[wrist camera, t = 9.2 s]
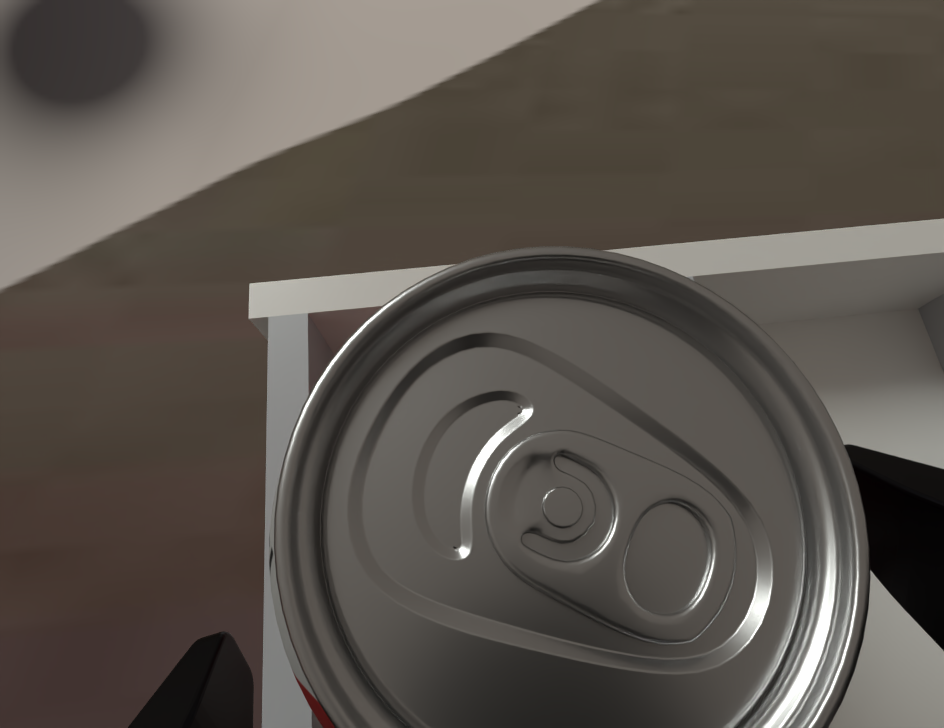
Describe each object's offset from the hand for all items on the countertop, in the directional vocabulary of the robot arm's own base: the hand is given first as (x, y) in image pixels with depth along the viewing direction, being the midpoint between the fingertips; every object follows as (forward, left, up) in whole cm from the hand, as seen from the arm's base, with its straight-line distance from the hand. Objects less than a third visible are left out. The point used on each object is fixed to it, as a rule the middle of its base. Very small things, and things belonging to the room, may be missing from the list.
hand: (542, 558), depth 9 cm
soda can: (0, 0, -9) cm, 9 cm away
